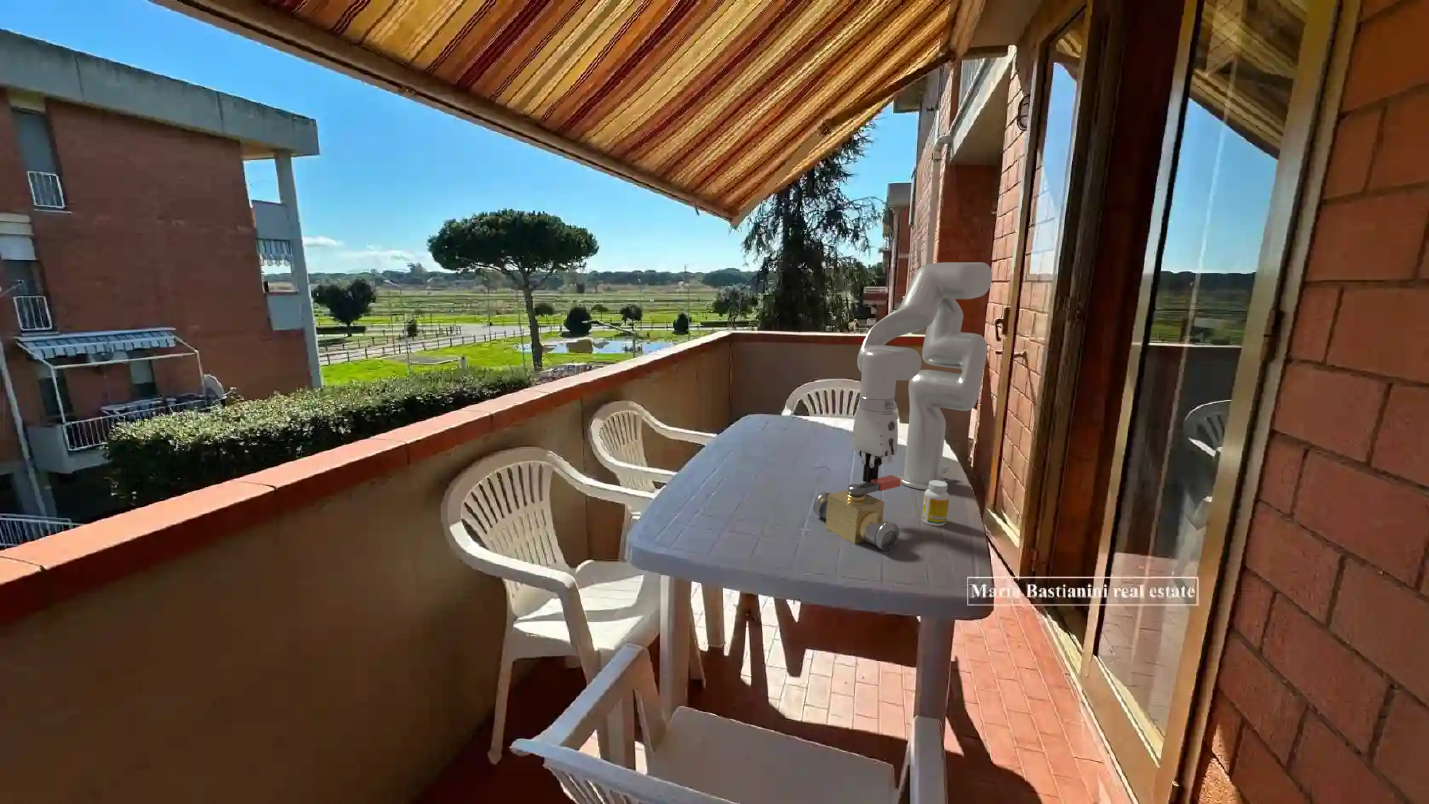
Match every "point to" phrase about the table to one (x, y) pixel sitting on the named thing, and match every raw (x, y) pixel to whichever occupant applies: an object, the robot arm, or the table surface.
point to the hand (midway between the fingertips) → (870, 481)
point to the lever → (874, 486)
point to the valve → (857, 518)
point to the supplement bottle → (935, 503)
